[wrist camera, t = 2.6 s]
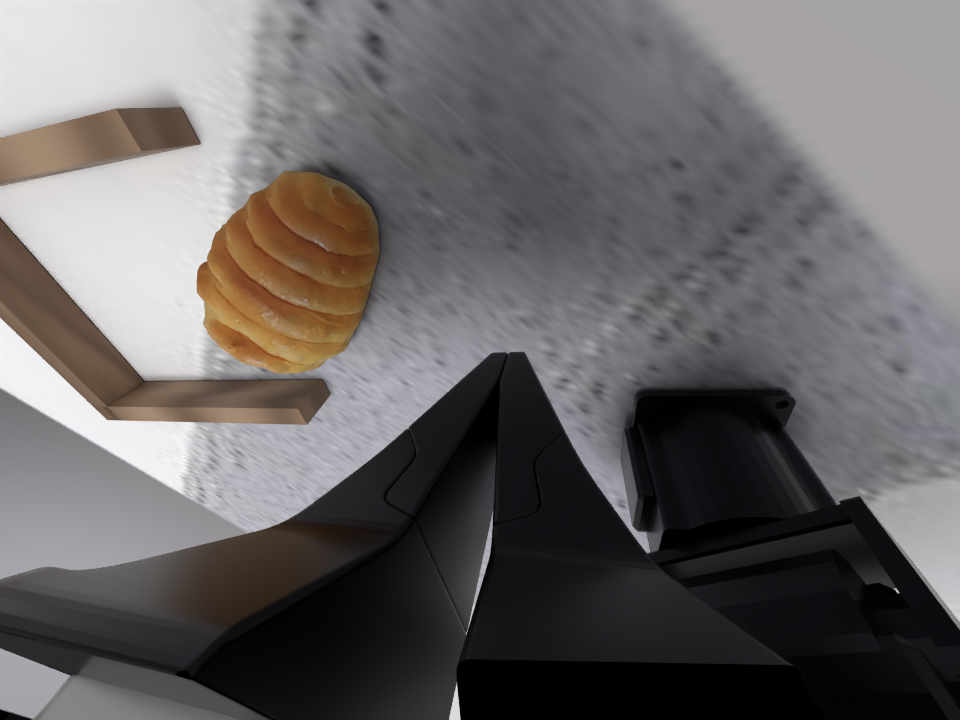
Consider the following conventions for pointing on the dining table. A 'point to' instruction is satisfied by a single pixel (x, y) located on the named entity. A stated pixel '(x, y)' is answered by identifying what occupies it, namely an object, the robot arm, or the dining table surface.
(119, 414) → the frame
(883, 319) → the dining table surface
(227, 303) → the pastry
